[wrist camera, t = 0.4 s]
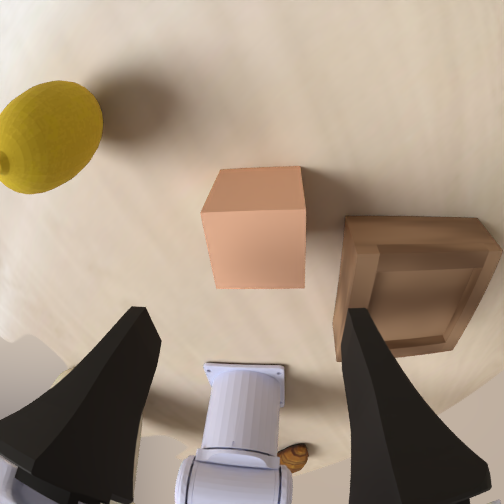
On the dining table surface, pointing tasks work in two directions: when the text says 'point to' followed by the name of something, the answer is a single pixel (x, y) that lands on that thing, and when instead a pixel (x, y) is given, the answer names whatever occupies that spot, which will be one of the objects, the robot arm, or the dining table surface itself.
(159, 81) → the dining table surface
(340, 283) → the walnut base
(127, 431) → the robot arm
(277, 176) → the block
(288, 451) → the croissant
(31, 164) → the lemon
